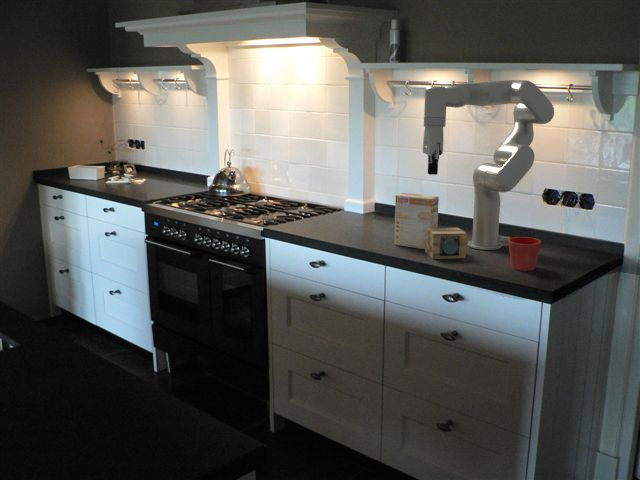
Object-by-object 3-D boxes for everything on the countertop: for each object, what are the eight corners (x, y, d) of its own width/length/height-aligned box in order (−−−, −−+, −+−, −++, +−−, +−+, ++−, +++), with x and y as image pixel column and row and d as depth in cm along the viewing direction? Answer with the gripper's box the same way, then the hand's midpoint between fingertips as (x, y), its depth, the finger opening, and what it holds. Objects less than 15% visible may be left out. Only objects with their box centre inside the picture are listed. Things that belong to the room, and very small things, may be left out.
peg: (457, 254, 252) (458, 238, 250) (442, 254, 251) (443, 239, 250) (448, 246, 262) (449, 232, 261) (433, 247, 262) (434, 232, 260)
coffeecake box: (437, 246, 270) (439, 196, 265) (429, 250, 264) (431, 198, 260) (402, 241, 278) (403, 192, 274) (393, 245, 272) (395, 194, 268)
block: (465, 258, 253) (466, 233, 251) (432, 258, 252) (433, 234, 250) (456, 251, 263) (457, 227, 261) (425, 252, 261) (426, 228, 259)
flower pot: (501, 269, 239) (503, 241, 237) (512, 262, 248) (514, 235, 246) (533, 274, 234) (535, 245, 231) (543, 266, 242) (545, 239, 240)
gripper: (418, 120, 256) (416, 171, 260) (430, 123, 241) (428, 177, 245) (438, 120, 257) (436, 171, 261) (451, 123, 242) (449, 177, 246)
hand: (432, 174), depth 253 cm, fingers closed
